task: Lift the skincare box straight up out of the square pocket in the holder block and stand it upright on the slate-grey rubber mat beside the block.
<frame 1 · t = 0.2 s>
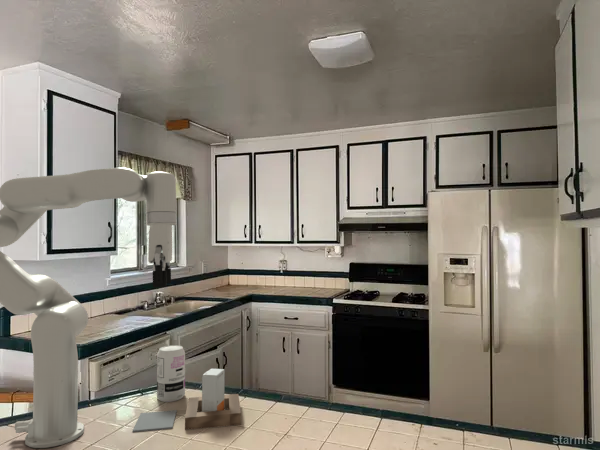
hand: (162, 285, 109), 36 cm above the worktop, tool pointing down, fingers open, 9 cm apart
skincare box: (213, 417, 114), resting in holder block
supplement can: (171, 398, 128), on the worktop
holder block: (213, 416, 114), on the worktop
rubber mat: (155, 421, 111), on the worktop
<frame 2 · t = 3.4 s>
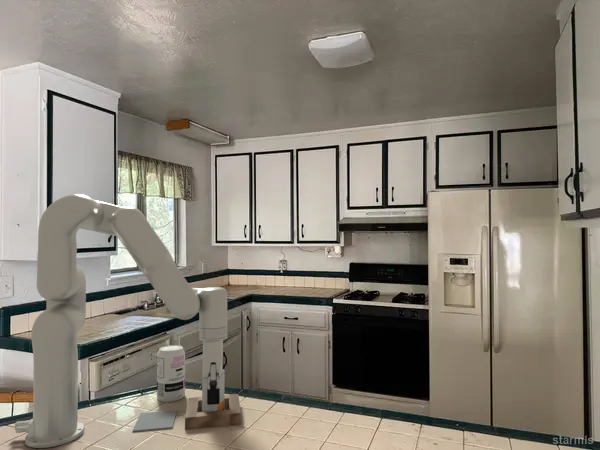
hand: (213, 398, 114), 5 cm above the worktop, tool pointing down, fingers closed on skincare box, 7 cm apart
skincare box: (213, 417, 114), resting in holder block, touching gripper
everything else where it was.
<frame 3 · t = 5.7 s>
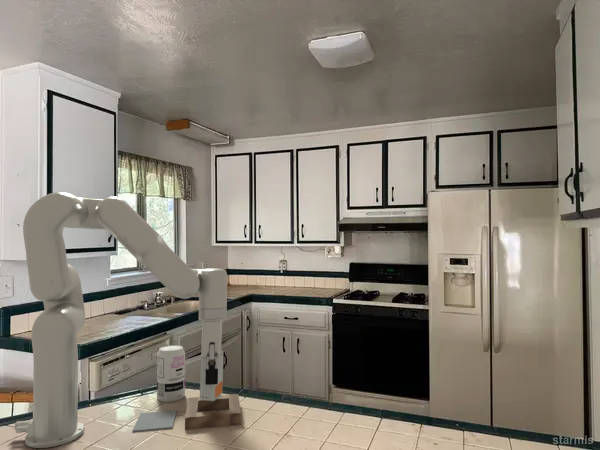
hand: (211, 379, 114), 10 cm above the worktop, tool pointing down, fingers closed on skincare box, 7 cm apart
skincare box: (211, 397, 114), point 5 cm above the worktop, touching gripper
everything else where it was.
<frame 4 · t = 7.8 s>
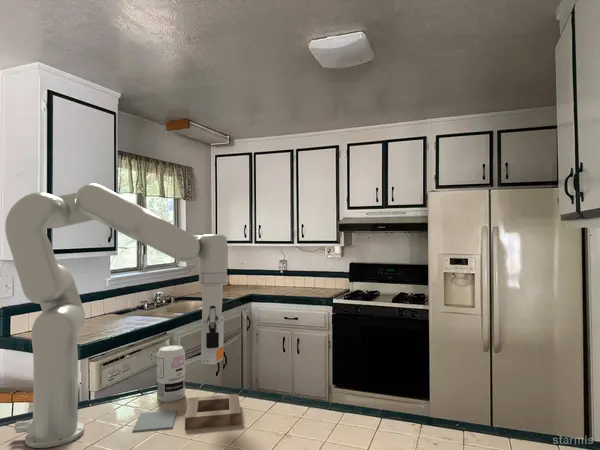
hand: (212, 343, 115), 19 cm above the worktop, tool pointing down, fingers closed on skincare box, 7 cm apart
skincare box: (212, 362, 115), point 14 cm above the worktop, touching gripper
everything else where it was.
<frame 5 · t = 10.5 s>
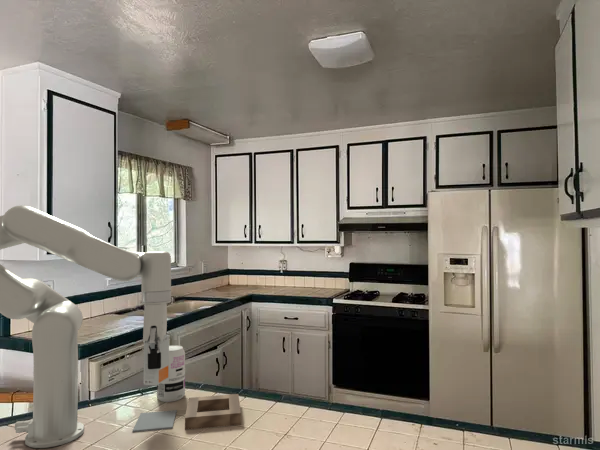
hand: (156, 363, 112), 15 cm above the worktop, tool pointing down, fingers closed on skincare box, 7 cm apart
skincare box: (156, 382, 112), point 10 cm above the worktop, touching gripper
everything else where it was.
when the fingers open (6 cm above the worktop, at t = 12.5 s): skincare box stays where it is, resting on rubber mat.
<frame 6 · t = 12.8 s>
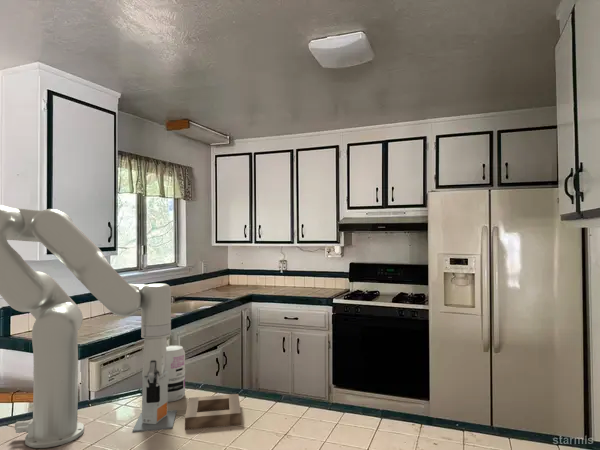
hand: (156, 395, 111), 7 cm above the worktop, tool pointing down, fingers open, 9 cm apart
skincare box: (155, 420, 111), resting on rubber mat
everything else where it was.
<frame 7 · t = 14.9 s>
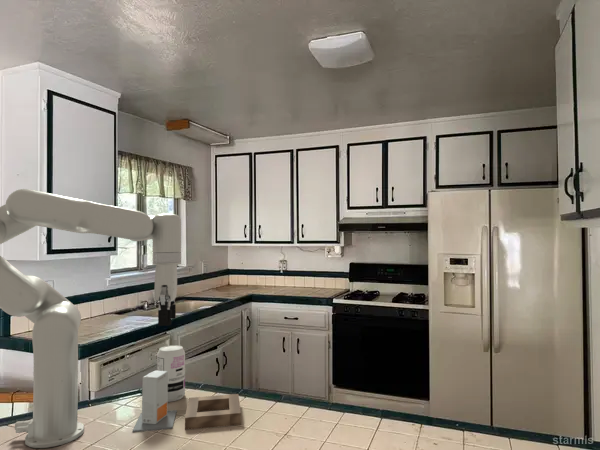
hand: (167, 321, 114), 26 cm above the worktop, tool pointing down, fingers open, 9 cm apart
nothing on the worktop moved.
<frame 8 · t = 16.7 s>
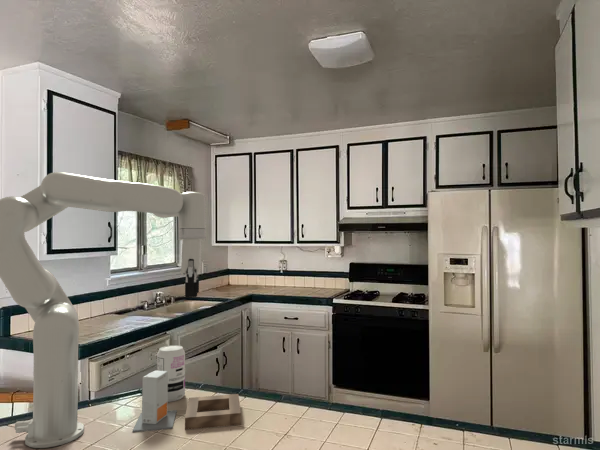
hand: (192, 294, 120), 32 cm above the worktop, tool pointing down, fingers open, 9 cm apart
nothing on the worktop moved.
at the end: skincare box inside the target area on the rubber mat (0.3 cm from its centre), point 0.2 cm above the rubber mat's base; skincare box tilted 0°; the gripper is holding nothing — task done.
